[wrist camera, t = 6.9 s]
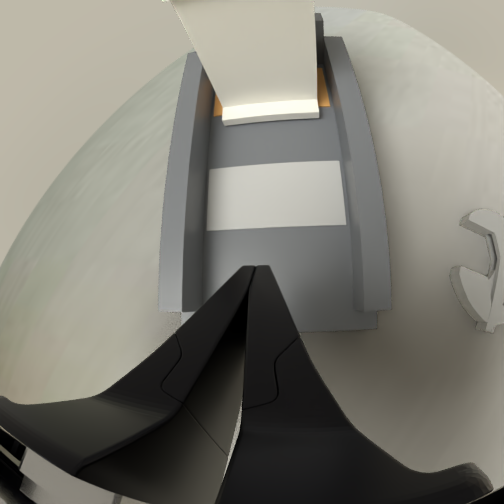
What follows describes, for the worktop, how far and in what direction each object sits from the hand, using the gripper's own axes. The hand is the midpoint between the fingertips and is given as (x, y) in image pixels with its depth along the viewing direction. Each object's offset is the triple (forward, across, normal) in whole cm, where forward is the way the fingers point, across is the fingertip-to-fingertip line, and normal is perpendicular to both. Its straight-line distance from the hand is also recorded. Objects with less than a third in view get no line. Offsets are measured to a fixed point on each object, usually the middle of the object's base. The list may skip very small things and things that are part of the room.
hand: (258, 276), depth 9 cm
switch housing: (+10, 0, 0) cm, 10 cm away
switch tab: (+12, 0, -5) cm, 13 cm away
